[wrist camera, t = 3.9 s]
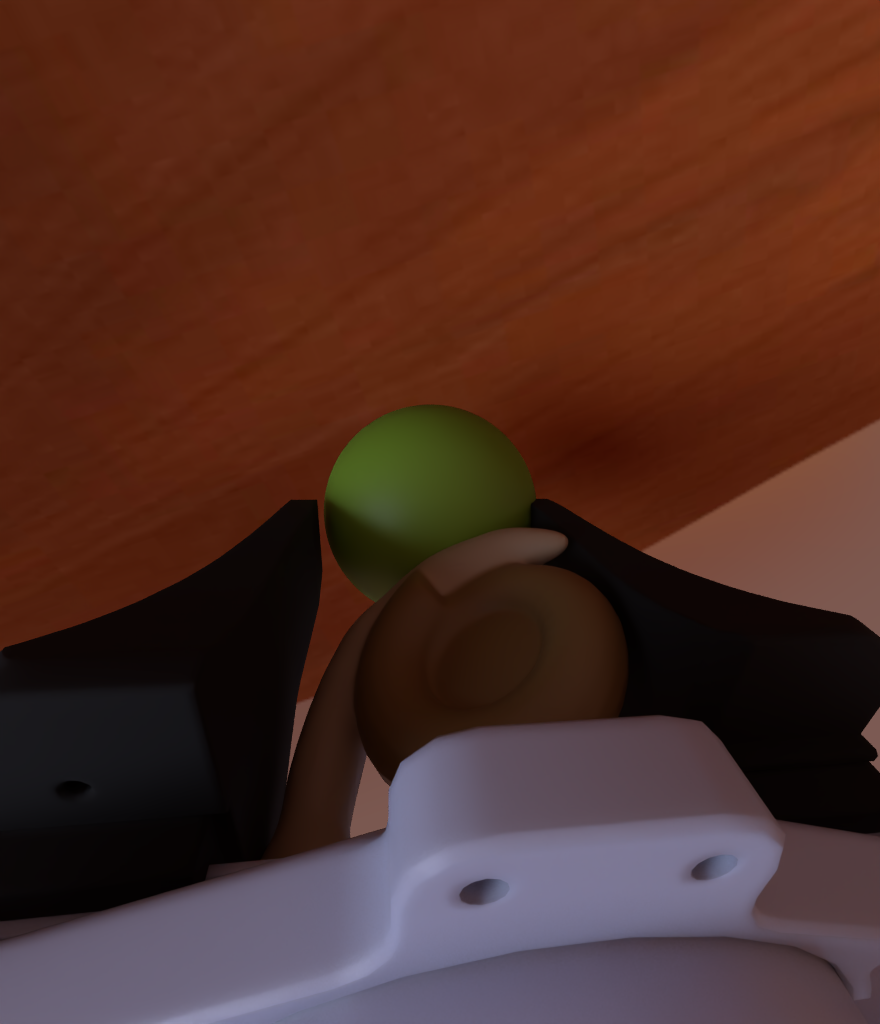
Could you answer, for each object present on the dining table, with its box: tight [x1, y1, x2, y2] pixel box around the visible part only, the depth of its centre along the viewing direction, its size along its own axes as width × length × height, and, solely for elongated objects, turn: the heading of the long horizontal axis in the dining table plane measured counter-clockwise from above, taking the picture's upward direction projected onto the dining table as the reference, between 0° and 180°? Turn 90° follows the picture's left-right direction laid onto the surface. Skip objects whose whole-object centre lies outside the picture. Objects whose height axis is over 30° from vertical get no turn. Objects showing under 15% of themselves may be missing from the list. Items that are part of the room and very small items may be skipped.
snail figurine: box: [261, 405, 629, 860], centre depth 10 cm, size 5×6×12 cm
